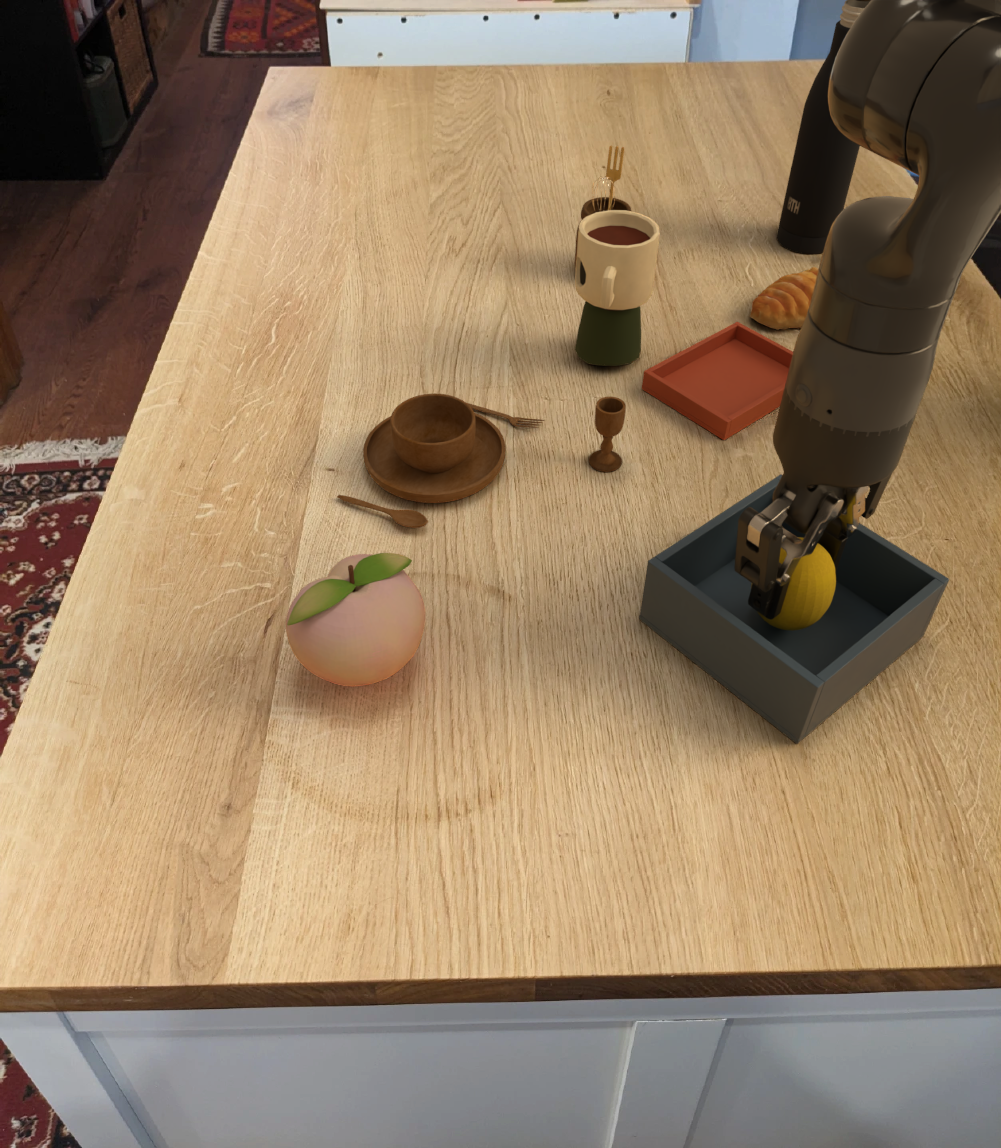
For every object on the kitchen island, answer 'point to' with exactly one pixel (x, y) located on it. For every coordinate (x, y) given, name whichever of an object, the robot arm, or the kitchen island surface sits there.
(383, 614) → the decorative fruit
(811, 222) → the black water bottle
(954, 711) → the kitchen island surface
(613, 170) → the utensil holder
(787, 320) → the pastry
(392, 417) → the place setting
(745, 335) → the tray
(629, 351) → the character mug
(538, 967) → the kitchen island surface
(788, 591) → the lemon
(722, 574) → the bin
